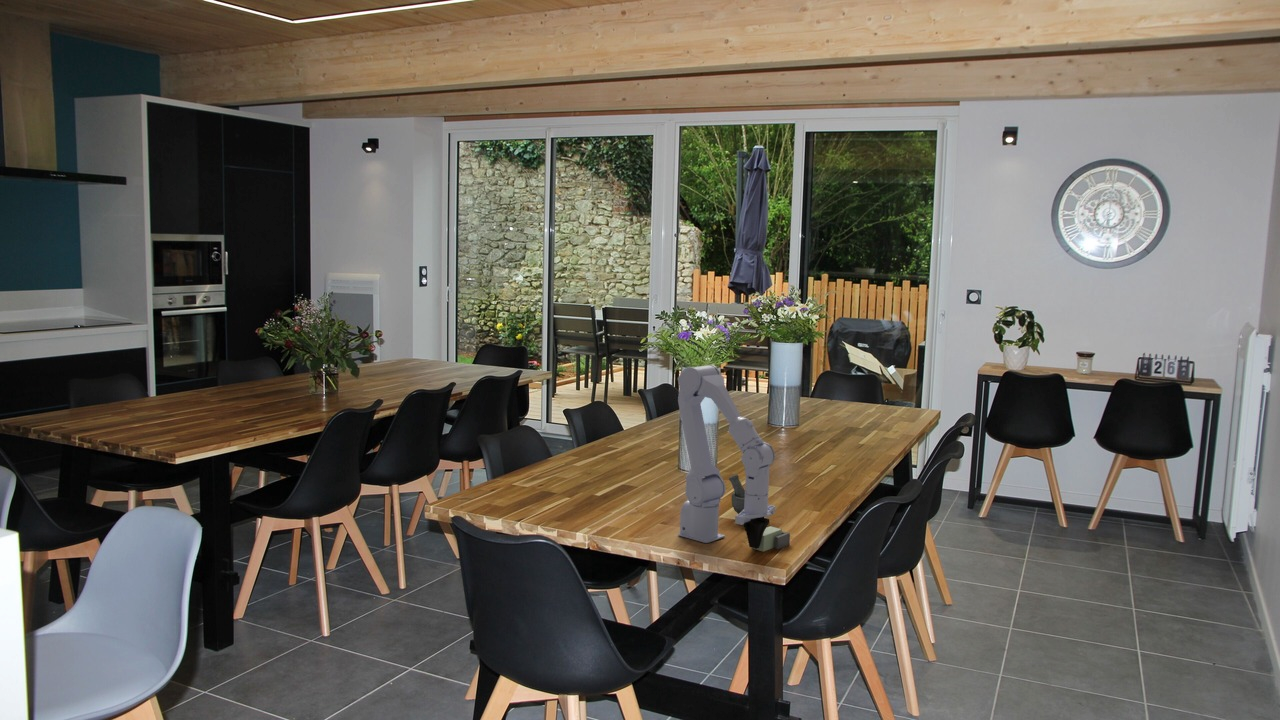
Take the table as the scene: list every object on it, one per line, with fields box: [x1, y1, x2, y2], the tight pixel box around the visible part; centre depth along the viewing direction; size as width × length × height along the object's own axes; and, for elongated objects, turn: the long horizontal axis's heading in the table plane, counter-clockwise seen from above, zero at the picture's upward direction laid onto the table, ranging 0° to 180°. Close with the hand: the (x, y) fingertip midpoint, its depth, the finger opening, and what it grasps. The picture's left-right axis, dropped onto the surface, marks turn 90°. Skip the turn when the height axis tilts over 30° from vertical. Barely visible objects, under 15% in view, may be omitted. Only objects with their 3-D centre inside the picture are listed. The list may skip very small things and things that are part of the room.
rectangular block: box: [751, 525, 783, 552], centre depth 235 cm, size 8×4×4 cm, turn 139°
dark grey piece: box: [774, 530, 791, 550], centre depth 237 cm, size 7×6×3 cm
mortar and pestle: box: [728, 474, 745, 515], centre depth 258 cm, size 11×9×12 cm
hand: (754, 547), depth 231 cm, fingers closed
